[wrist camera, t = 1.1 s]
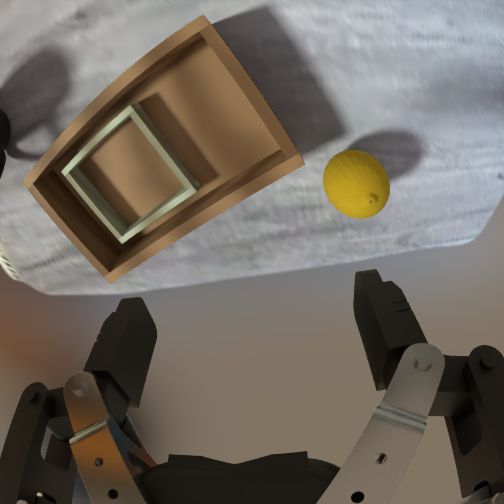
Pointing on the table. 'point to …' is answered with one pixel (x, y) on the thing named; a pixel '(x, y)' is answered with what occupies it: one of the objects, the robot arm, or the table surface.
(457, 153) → the table surface
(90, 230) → the caddy
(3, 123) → the mug
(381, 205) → the lemon
